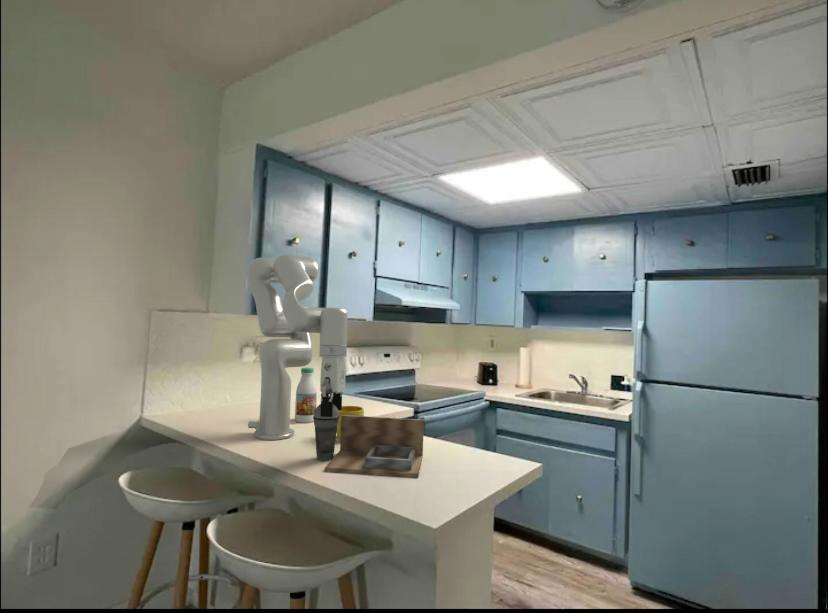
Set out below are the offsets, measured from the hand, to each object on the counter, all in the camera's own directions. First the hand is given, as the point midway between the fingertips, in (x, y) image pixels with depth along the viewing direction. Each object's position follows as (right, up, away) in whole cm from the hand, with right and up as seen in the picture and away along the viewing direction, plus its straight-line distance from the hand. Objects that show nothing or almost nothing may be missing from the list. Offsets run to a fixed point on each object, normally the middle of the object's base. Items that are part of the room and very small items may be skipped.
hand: (331, 413), depth 124 cm
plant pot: (+1, -14, +22) cm, 26 cm away
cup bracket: (+13, -13, -3) cm, 19 cm away
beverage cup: (-2, -13, 0) cm, 13 cm away
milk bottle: (-18, -14, +44) cm, 49 cm away
